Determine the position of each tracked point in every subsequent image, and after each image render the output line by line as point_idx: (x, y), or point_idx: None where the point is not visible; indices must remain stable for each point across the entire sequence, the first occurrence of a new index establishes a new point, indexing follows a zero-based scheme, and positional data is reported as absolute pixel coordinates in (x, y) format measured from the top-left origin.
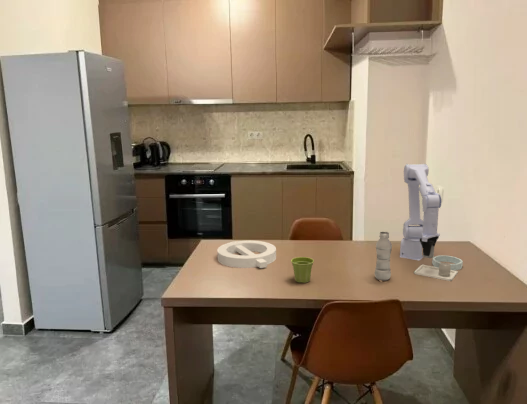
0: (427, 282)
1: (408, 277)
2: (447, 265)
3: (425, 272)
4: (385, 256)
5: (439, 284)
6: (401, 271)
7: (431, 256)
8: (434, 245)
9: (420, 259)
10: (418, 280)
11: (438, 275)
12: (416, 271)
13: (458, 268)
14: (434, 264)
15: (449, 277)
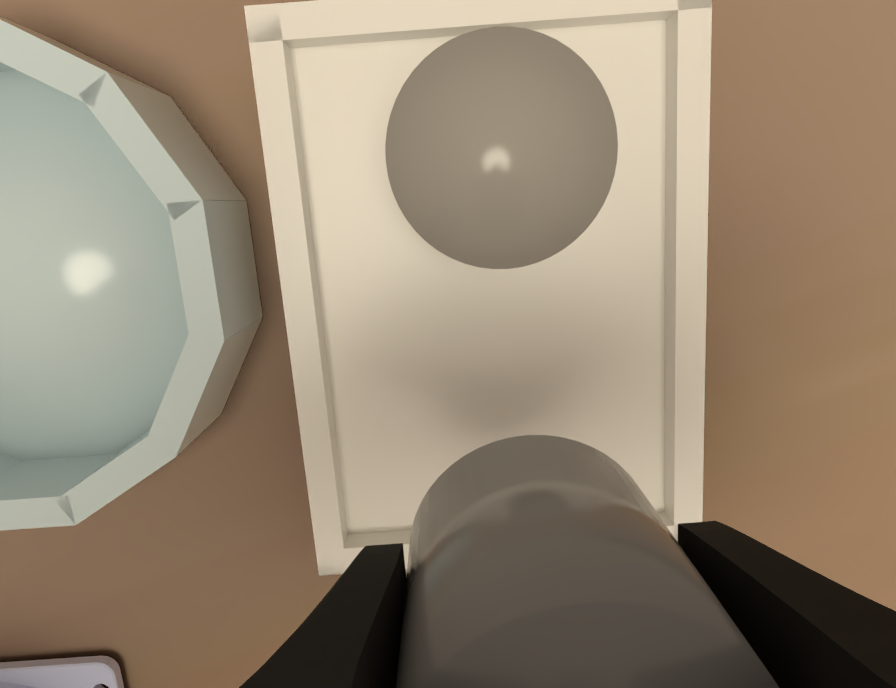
0: (857, 282)
1: (802, 542)
2: (526, 90)
3: (545, 428)
4: None
5: (850, 114)
6: None
7: (620, 472)
8: (332, 659)
9: (61, 667)
10: (844, 404)
11: None
12: None
13: (76, 51)
14: (203, 426)
15: None
